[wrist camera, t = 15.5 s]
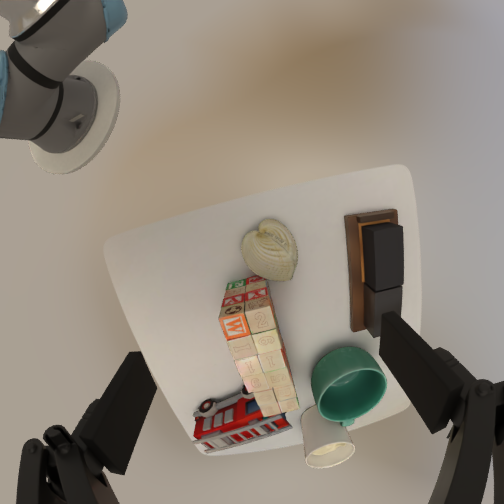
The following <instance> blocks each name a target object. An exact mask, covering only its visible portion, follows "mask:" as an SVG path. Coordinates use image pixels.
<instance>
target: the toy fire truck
mask: <svg viewBox="0 0 504 504" xmlns="http://www.w3.org/2000/svg"><path fill="white" fill-rule="evenodd" d="M240 391H241V393H240V394H238V395H236V396H234V397H231V398H229V399H226V400H224V401H222V402H219V403H217V404H216V403H215V402H213V401H212V400H211V399H209V400H206V401H204V402H203V403H202V404H201V406H200V408H198V411H196V412H194V414H193V416H194V417H195V421H196V425H195V430H194V435H193V436H194V437H195V438H196V439H198V440H194V441H192V443H193V444H199V443H201V444H202V445H204V446H205V447H206V448H208V449H207V450H204V452H206V453H211V452H215V451H220V450H224V449H228V448H232V447H236V446H239V445H243V444H246V443H250V442H253V441H256V440H260V439H263V438H266V437H269V436H272V435H275V434H278V433H281V432H283V431H286V430H289V429H292V428H293V427H292V426H291V425H290V424H289V423H288V422H287V420H286V416H285V413H286V412H285V413H281V414H277V415H272V416H267V417H263V414H262V412H261V409H260V407H259V406H258V404H257V402H256V399H255V397H254V394H253V392H251V393H248V391H247V389H246V386H245V385H244V386H243V389H242V390H240ZM251 437H252V438H251ZM248 438H249V439H248Z"/></svg>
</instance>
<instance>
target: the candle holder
mask: <svg viewBox="0 0 504 504" xmlns="http://www.w3.org/2000/svg"><path fill="white" fill-rule="evenodd" d="M301 425H302V434H303V442H304V450H305V462H306V464H307V465H308V466H310V467H313V468H326V467H331V466H335V465H337V464H340V463H342V462H344V461H345V460H347V459H348V458H350V457H351V456H352V455H353V453H354V451H355V446H354V444H353V442H352V440H351V438H350V436H349V433H348V431H347V429H346V427H343V426H341V425H340V423H339V422H336V421H330V420H327V419H325V418H324V417H322V416H321V414H320V413H319V411H318V408H317V405H315V406H313V407H311V408H309V409H307V410H306V411H305V412H304V413H303V415H302V417H301Z"/></svg>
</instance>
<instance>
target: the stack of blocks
mask: <svg viewBox="0 0 504 504" xmlns="http://www.w3.org/2000/svg"><path fill="white" fill-rule="evenodd" d="M219 322H220V324H221V327H222V330H223V332H224V335H225V337H226V339H227V344H228V347H229V349H230V351H231V354H232V356H233V358H234V362H235V365H236V367H237V369H238V371H239V374H240V376H241V377H242V380H243V382H244V384H245V386H246V389H247V391H248V393H251V392H253V394H254V397H255V399H256V402H257V404H258V406H259V407H260V409H261V412H262V414H263V417H267V416H272V415H277V414H281V413H285V412H289V411H293V410H297V409H300V407H299V402H298V398H297V394H296V391H295V387H294V382H293V378H292V374H291V370H290V366H289V362H288V358H287V355H286V351H285V347H284V343H283V339H282V337H281V333H280V330H279V326H278V322H277V319H276V315H275V311H274V306H273V302H272V298H271V294H270V290H269V286H268V282H267V279H265V278H262V277H260V276H258V275H257V276H254V277H250V278H247V279H244V280H239V281H235V282H231V283H228V284H227V287H226V293H225V296H224V299H223V303H222V306H221V311H220V315H219Z"/></svg>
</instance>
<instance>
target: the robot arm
mask: <svg viewBox="0 0 504 504" xmlns="http://www.w3.org/2000/svg"><path fill="white" fill-rule="evenodd" d="M0 15H1V16H2V17H4V18H5V19H7V20H8V21H9V23H10V25H9V36H10V37H11V38H13V39H14V40H15V41H14V42H13V43H12V44H11V46H10V47H9V48H8V49H7V51H6V52H5V51H3V50H1V51H0V138H7V139H20V140H30V141H31V142H33V143H34V144H36V145H37V146H39V147H40V148H41V149H42V150H44V151H46V152H49V153H55V154H61V153H65V152H68V151H70V150H72V149H73V148H75V147H76V146H77V145H78V144H79V143H80V142H81V141H82V140H83V139H84V138H85V136H86V135H87V134H88V132H89V130H90V128H91V127H92V124H93V122H94V120H95V117H96V113H97V108H98V95H97V91H96V88H95V86H94V85H93V83H92V82H90V81H89V80H87V79H86V78H84V77H81V76H77V75H69V74H70V73H71V72H72V71H73V70H74V69H75V68H76V67H77V66H78V65H79V64H80V63H81V62H82V61H83V60H85V59H86V57H88V55H90V54H91V53H92V52H93V51H94V50H95V49H96V48H98V47H99V46H100V45H101V44H102V43H103V42H104V43H105V42H106V41H108V39H109V37H110V36H112V35H113V34H114V33H115V32H116V31H117V30H118V29H120V28H121V27H122V26H123V25H124V24H125V22H126V20H127V10H126V7H125V5H124V2H123V0H0ZM379 355H380V357H381V358H382V360H383V361H384V362H385V364H386V365H387V367H388V368H389V370H390V371H391V373H392V374H393V376H394V377H395V378H396V380H397V381H398V383H399V384H400V386H401V387H402V389H403V390H404V392H405V393H406V395H407V396H408V398H409V399H410V401H411V402H412V404H413V405H414V407H415V408H416V410H417V412H418V413H419V415H420V416H421V418H422V419H423V421H424V422H425V424H426V426H427V427H428V429H429V430H430V432H431V433H432V434H434V433H436V432H438V431H440V430H442V429H444V428H446V426H447V424H448V422H449V420H450V419H451V421H452V422H453V427H452V428H451V430H450V432H449V434H448V436H447V438H449V437H450V438H449V442H448V446H447V450H446V454H445V458H444V461H443V464H442V467H441V470H440V473H439V476H438V480H437V482H436V485H435V488H434V490H433V493H432V496H431V498H430V500H429V503H428V504H481V502H482V498H483V495H484V490H485V487H486V482H487V478H488V473H489V467H490V462H491V455H492V457H493V470H494V504H504V381H502V382H499V383H495V384H493V383H492V382H490V381H488V380H485V379H480V380H477V379H476V378H475V377H474V376H473V375H472V374H471V373H470V372H469V371H468V370H467V369H466V368H465V367H464V366H463V365H462V364H461V363H459V361H457V359H456V358H454V356H453V355H452V354H451V353H450V352H449V351H447V350H445V349H443V348H440V347H439V348H437V349H434V350H433V349H432V348H431V347H430V346H429V345H428V344H427V343H426V342H425V341H424V340H423V339H422V338H421V337H420V336H419V335H418V334H417V333H416V332H415V331H414V330H413V329H412V328H411V327H410V326H409V325H408V324H407V323H406V322H405V321H404V320H403V319H402V318H401V317H400V316H399V315H398V314H397V313H396V312H395V311H390V312H386V313H383V314H382V315H381V334H380V348H379ZM156 390H157V386H156V384H155V382H154V380H153V378H152V376H151V373H150V371H149V369H148V367H147V364H146V362H145V360H144V357H143V355H142V353H141V351H138V352H129V354H128V355H127V356H126V358H125V360H124V361H123V363H122V364H121V366H120V367H119V369H118V371H117V372H116V374H115V375H114V377H113V379H112V380H111V382H110V384H109V385H108V387H107V388H106V390H105V392H104V393H103V395H102V397H101V398H100V399H96V400H95V401H93V403H91V404H90V405H89V407H88V408H87V410H86V412H85V413H84V415H83V416H82V419H81V420H80V421H79V423H78V425H77V427H76V428H75V430H74V431H73V433H72V435H70V434H69V433H68V431H67V430H66V429H65V427H63V426H62V425H53V426H51V427H49V428H48V429H47V430H46V431H45V433H44V434H43V439H44V440H45V442H46V443H47V444H48V445H49V446H44V444H43V443H42V442H41V441H40V440H38V439H35V438H33V439H30V440H28V441H27V442H26V443H25V444H24V446H23V449H22V455H21V461H20V468H19V476H18V486H17V499H16V504H119V502H118V500H117V498H116V496H115V494H114V492H113V490H112V488H111V486H110V484H109V482H108V479H107V478H106V475H105V474H104V472H103V471H102V470H103V467H104V466H105V467H106V468H107V469H108V470H109V471H110V472H111V473H116V474H120V475H125V472H126V469H127V466H128V463H129V461H130V458H131V455H132V452H133V450H134V447H135V444H136V441H137V439H138V436H139V433H140V431H141V428H142V426H143V423H144V420H145V418H146V415H147V413H148V410H149V408H150V405H151V403H152V400H153V397H154V395H155V393H156ZM46 477H47V478H48V482H46Z"/></svg>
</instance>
